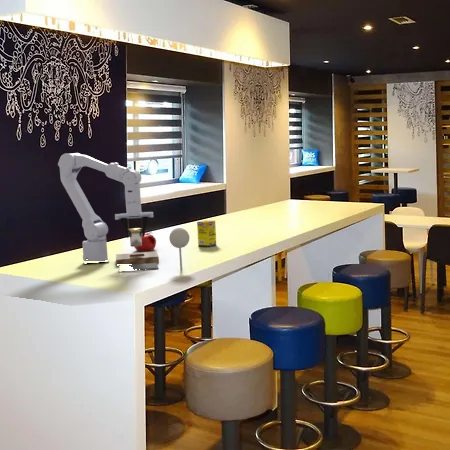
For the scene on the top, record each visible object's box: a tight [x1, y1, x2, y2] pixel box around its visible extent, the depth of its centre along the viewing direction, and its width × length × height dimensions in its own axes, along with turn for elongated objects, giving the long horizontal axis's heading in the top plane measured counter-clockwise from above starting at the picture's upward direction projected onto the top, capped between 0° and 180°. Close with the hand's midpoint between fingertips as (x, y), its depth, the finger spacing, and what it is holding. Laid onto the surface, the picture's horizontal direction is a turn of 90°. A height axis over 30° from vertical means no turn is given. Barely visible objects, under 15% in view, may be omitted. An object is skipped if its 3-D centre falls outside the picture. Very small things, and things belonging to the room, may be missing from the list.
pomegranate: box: [134, 232, 157, 252], centre depth 264 cm, size 10×10×9 cm
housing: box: [115, 250, 160, 264], centre depth 238 cm, size 16×12×2 cm
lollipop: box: [169, 227, 190, 271], centre depth 218 cm, size 7×7×15 cm
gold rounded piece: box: [128, 227, 142, 248], centre depth 237 cm, size 5×5×6 cm
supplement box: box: [196, 220, 217, 248], centre depth 267 cm, size 6×6×11 cm
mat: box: [129, 263, 159, 271], centre depth 226 cm, size 14×10×1 cm
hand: (135, 236), depth 237 cm, fingers closed on gold rounded piece, 5 cm apart
